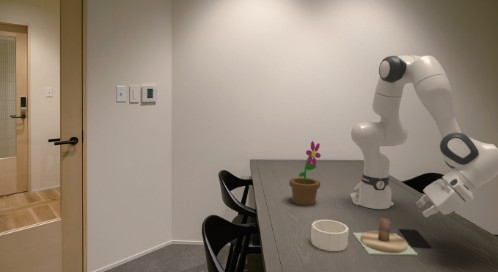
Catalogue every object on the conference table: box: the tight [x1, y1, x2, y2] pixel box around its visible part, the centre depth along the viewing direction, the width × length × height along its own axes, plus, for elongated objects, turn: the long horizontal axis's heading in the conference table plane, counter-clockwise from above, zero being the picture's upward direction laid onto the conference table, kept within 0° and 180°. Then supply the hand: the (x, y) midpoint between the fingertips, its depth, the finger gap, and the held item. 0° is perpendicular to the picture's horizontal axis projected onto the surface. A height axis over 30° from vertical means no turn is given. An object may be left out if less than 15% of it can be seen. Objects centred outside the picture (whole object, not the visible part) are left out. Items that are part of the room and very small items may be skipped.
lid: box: [361, 217, 407, 253], centre depth 116 cm, size 15×15×8 cm
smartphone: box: [397, 228, 433, 251], centre depth 121 cm, size 7×1×15 cm
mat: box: [352, 232, 419, 257], centre depth 117 cm, size 16×16×1 cm
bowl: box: [310, 219, 350, 252], centre depth 116 cm, size 12×12×6 cm
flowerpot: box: [288, 140, 322, 207], centre depth 157 cm, size 14×14×30 cm
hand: (420, 210), depth 112 cm, fingers open, 8 cm apart
